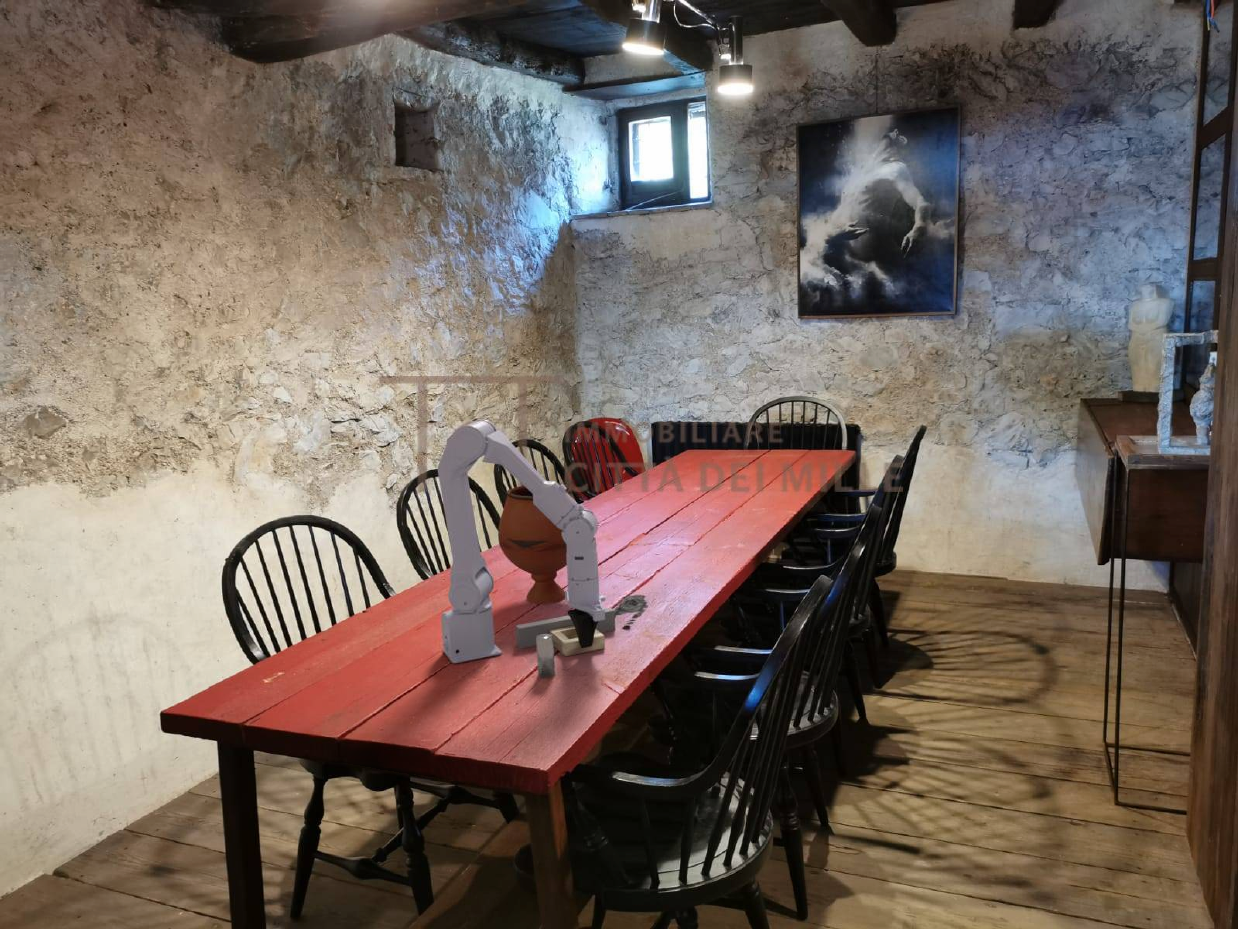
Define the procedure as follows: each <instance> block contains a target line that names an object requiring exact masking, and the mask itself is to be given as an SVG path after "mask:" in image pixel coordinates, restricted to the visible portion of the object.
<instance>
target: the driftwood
mask: <svg viewBox="0 0 1238 929" xmlns="http://www.w3.org/2000/svg"><path fill="white" fill-rule="evenodd" d="M646 597H647V596H646V595H643V594H633V595H626V596H625V597H624V599H623V600H622V601H621V602H619V603H620V604H618V605H617V606H616V607H615V608H614V610H615V619H616V618H617V616H622V615H626V614H631V613H632V614H634V615H632V619H630V620H628V621H626V624H624V626H623V628H631V625H633V624H634V623H635V622H636V620H635V619H638V618H640V616H642V614H643V613H644V612H645V610H646V609H647V608H648V601H646V599H645V598H646Z"/></svg>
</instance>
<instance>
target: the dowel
mask: <svg viewBox="0 0 1238 929" xmlns="http://www.w3.org/2000/svg"><path fill="white" fill-rule="evenodd" d="M554 648H555V646H554V645H553V636H552V635H550V634H541V635H538V636H537V637H536V660H537V676H538V677H539V678H542V679H549V678H550V679H551V678H552V677H554V676H556V666H555V664H556V663H555V650H554Z"/></svg>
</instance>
